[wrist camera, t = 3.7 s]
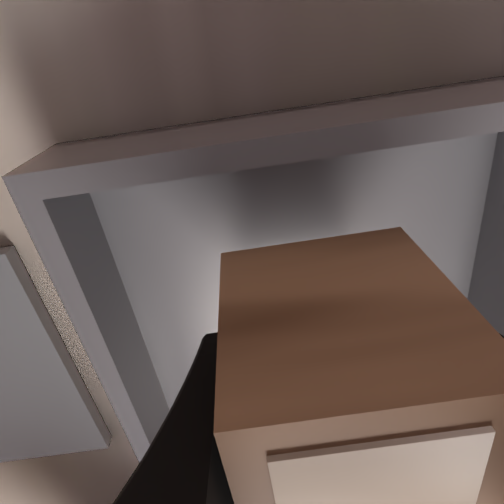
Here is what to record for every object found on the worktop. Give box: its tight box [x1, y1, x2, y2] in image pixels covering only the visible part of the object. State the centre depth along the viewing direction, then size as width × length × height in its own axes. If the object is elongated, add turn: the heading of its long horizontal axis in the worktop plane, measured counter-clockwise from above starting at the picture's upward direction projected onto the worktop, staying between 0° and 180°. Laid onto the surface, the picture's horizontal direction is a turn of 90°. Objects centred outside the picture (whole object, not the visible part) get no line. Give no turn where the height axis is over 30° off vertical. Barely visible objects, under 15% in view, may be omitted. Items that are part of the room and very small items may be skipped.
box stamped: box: [214, 227, 504, 504], centre depth 8 cm, size 4×4×5 cm
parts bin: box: [2, 76, 504, 463], centre depth 15 cm, size 17×14×3 cm
